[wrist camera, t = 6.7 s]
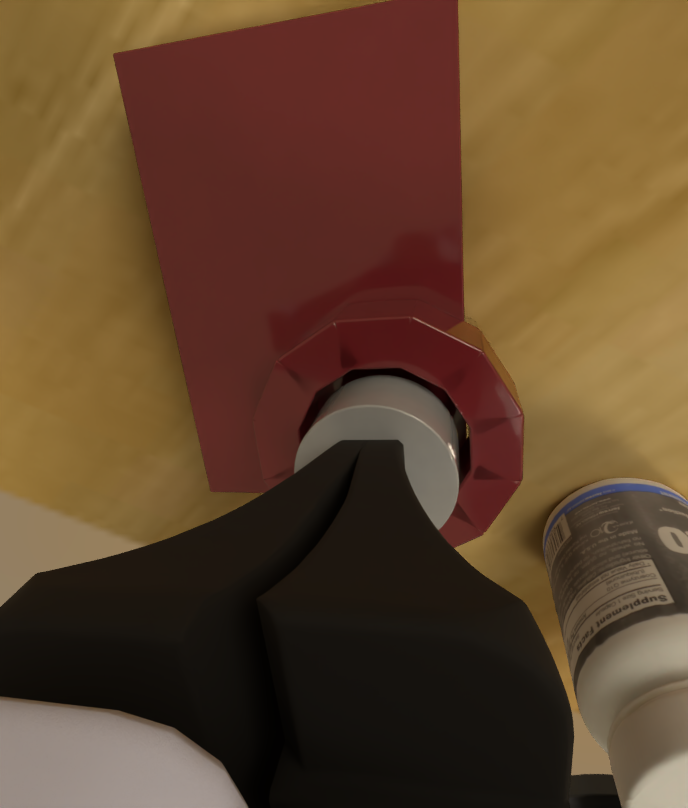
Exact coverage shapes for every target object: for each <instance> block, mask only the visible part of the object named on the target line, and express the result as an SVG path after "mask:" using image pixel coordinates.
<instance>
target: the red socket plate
mask: <svg viewBox="0 0 688 808" xmlns="http://www.w3.org/2000/svg"><path fill="white" fill-rule="evenodd" d="M113 57H114V61H115V66H116V70H117V75H118V79H119V84H120V88H121V93H122V97H123V102H124V106H125V111H126V115H127V120H128V124H129V129H130V133H131V137H132V142H133V146H134V151H135V155H136V160H137V164H138V169H139V173H140V178H141V182H142V187H143V191H144V196H145V200H146V205H147V209H148V214H149V218H150V223H151V227H152V231H153V236H154V240H155V245H156V249H157V254H158V258H159V263H160V267H161V272H162V276H163V281H164V285H165V290H166V294H167V299H168V303H169V308H170V312H171V317H172V321H173V325H174V330H175V334H176V339H177V343H178V348H179V352H180V357H181V361H182V366H183V370H184V375H185V379H186V384H187V388H188V393H189V397H190V402H191V406H192V411H193V415H194V419H195V424H196V428H197V433H198V437H199V442H200V446H201V451H202V455H203V460H204V464H205V469H206V473H207V478H208V482H209V487H210V491H211V492H246V493H265V492H267V491H268V490H270V489H272V488H273V487H275V486H276V485H278V484H279V483H281V482H282V481H284V480H285V479H287V478H289V477H290V476H292V475H293V474H294V464H295V458H296V453H297V451H298V448H299V445H300V443H301V441H302V440H303V438H304V436H305V434H306V433H307V431H308V429H309V428H310V426H311V425H312V423H313V421H314V420H315V418H316V416H317V415H318V413H319V411H320V410H321V408H322V407H323V405H324V403H325V402H326V401H327V400H328V398H329V397H330V396H331V395H332V394H333V393H334V392H335V391H336V390H338V389H339V388H341V387H342V386H343V385H345V384H347V383H349V382H351V381H353V380H356V379H359V378H363V377H367V376H374V375H391V376H397V377H402V378H405V379H409V380H411V381H413V382H416V383H418V384H420V385H422V386H423V387H425V388H427V389H428V390H429V391H431V392H432V393H433V394H435V395H436V396H437V397H438V398H439V399H440V400H441V401H442V402H443V404H444V405H445V406H446V408H447V409H448V410H449V412H450V414H451V416H452V418H453V420H454V422H455V425H456V428H457V432H458V440H459V493H458V498H457V502H456V505H455V507H454V510H453V512H452V514H451V515H450V517H449V519H448V520H447V521H446V523H445V524H444V525H443V526H442V527H441V528H440V529H439V530H438V531H439V532H440V533H441V534H442V536H443V537H444V538H445V539H446V540H447V542H448V543H449V544H450V545H451V546H452V547H453V548H455V547H457V546H459V545H461V544H464V543H466V542H468V541H470V540H473V539H475V538H477V537H480V536H482V535H483V534H484V532H486V531H487V529H488V528H489V527H490V525H491V524H492V522H493V521H494V520H495V518H496V517H497V516H498V514H499V513H500V511H501V510H502V509H503V507H504V506H505V504H506V503H507V502H508V500H509V499H510V498H511V496H512V495H513V493H514V492H515V491H516V489H517V488H518V486H519V485H520V483H521V481H522V479H523V445H524V414H523V410H522V407H521V404H520V400H519V397H518V394H517V390H516V387H515V383H514V382H513V380H512V378H511V377H510V375H509V374H508V372H507V371H506V369H505V368H504V366H503V364H502V363H501V361H500V360H499V358H498V357H497V355H496V353H495V352H494V350H493V349H492V347H491V346H490V344H489V342H488V341H487V339H486V338H485V336H484V335H483V333H482V332H481V331H480V330H479V329H478V328H476V327H474V326H472V325H470V324H468V323H466V322H464V281H463V231H462V180H461V130H460V79H459V29H458V0H391V1H385V2H380V3H375V4H370V5H364V6H359V7H354V8H349V9H344V10H338V11H333V12H328V13H323V14H317V15H312V16H307V17H302V18H297V19H291V20H286V21H281V22H276V23H270V24H265V25H260V26H255V27H249V28H244V29H239V30H234V31H229V32H223V33H218V34H213V35H208V36H202V37H197V38H192V39H187V40H181V41H176V42H171V43H166V44H161V45H155V46H150V47H145V48H140V49H134V50H129V51H124V52H119V53H114V54H113ZM466 423H467V424H468V435H469V436H468V438H467V432H466Z"/></svg>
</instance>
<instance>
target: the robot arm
mask: <svg viewBox="0 0 688 808" xmlns="http://www.w3.org/2000/svg"><path fill="white" fill-rule="evenodd" d="M573 743H574V728H573V718H572V712H571V708H570V704H569V700H568V697H567V694H566V691H565V688H564V685H563V682H562V680H561V677H560V674H559V672H558V669H557V666H556V664H555V661H554V659H553V657H552V654H551V652H550V650H549V648H548V646H547V644H546V642H545V639H544V637H543V635H542V633H541V631H540V629H539V627H538V625H537V623H536V622H535V620H534V618H533V616H532V614H531V612H530V610H529V608H528V607H527V605H526V604H525V603H524V602H523V601H522V600H521V599H520V598H518V597H516V596H515V595H513V594H512V593H510V592H509V591H507V590H506V589H504V588H502V587H501V586H499V585H498V584H496V583H495V582H493V581H492V580H490V579H488V578H487V577H485V576H484V575H483V574H481V573H480V572H479V571H478V570H476V569H475V568H474V567H473V566H471V565H470V564H469V563H468V562H467V561H466V560H465V559H464V558H463V557H462V556H461V555H460V554H459V553H458V552H457V551H456V550H455V549H454V548H453V547H452V546H451V545H450V544H449V543H448V542H447V540H446V539H445V538H444V537H443V536H442V534H441V533H440V532H439V531H438V529H437V528H436V527H435V525H434V524H433V523H432V521H431V520H430V518H429V517H428V515H427V514H426V512H425V511H424V509H423V507H422V506H421V504H420V502H419V500H418V498H417V496H416V495H415V493H414V490H413V488H412V486H411V484H410V481H409V479H408V476H407V474H406V471H405V459H404V445H403V444H402V443H401V442H400V441H399V440H341V441H339V442H338V443H336V444H335V445H333V446H332V447H330V448H329V449H327V450H326V451H325V452H323V453H322V454H321V455H319V456H318V457H317V458H315V459H314V460H313V461H311V462H310V463H308V464H307V465H306V466H304V467H303V468H301V469H300V470H299V471H297V472H296V473H295V474H293V475H292V476H290V477H289V478H287V479H285V480H284V481H282V482H281V483H279V484H278V485H276V486H275V487H273V488H272V489H270V490H268V491H267V492H265V493H264V494H262V495H261V496H259V497H257V498H256V499H254V500H252V501H250V502H248V503H247V504H245V505H243V506H241V507H239V508H237V509H235V510H233V511H231V512H229V513H227V514H225V515H223V516H221V517H219V518H217V519H215V520H213V521H210V522H208V523H205V524H203V525H200V526H198V527H195V528H193V529H191V530H188V531H186V532H183V533H181V534H178V535H176V536H173V537H171V538H168V539H165V540H162V541H159V542H156V543H153V544H150V545H147V546H144V547H141V548H138V549H134V550H131V551H128V552H124V553H121V554H118V555H114V556H110V557H107V558H103V559H99V560H94V561H90V562H85V563H82V564H77V565H72V566H69V567H64V568H59V569H55V570H51V571H46V572H40V573H37V574H35V575H34V576H33V577H32V578H31V579H30V580H29V581H28V582H26V583H25V584H24V585H23V586H22V587H21V588H20V589H19V590H18V591H17V592H16V593H15V594H14V595H13V596H12V597H11V598H9V599H8V600H7V601H6V602H5V603H4V604H3V605H2V606H1V607H0V808H570V804H569V793H570V781H571V767H572V755H573Z"/></svg>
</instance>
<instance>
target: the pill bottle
mask: <svg viewBox="0 0 688 808" xmlns="http://www.w3.org/2000/svg"><path fill="white" fill-rule="evenodd" d="M543 552H544V557H545V563H546V567H547V572H548V576H549V580H550V584H551V588H552V593H553V599H554V602H555V608H556V612H557V615H558V618H559V623H560V627H561V631H562V636H563V640H564V644H565V649H566V654H567V658H568V663H569V667H570V671H571V676H572V681H573V686H574V691H575V695H576V699H577V703H578V707H579V710H580V713H581V716H582V718H583V720H584V723H585V725H586V726H587V728H588V730H589V732H590V733H591V735H592V736H593V738H594V739H595V740H596V742H597V743H598V744H599V745H600V746H601V747H602V748H603V749H604V750H605V751H606V752H607V753H608V755H609V759H610V764H611V770H612V773H613V777H614V780H615V784H616V787H617V791H618V795H619V798H620V802H621V806H622V808H688V500H686V499H685V498H684V497H683V496H682V495H680V494H679V493H677V492H676V491H674V490H673V489H671V488H669V487H667V486H665V485H663V484H661V483H658V482H654V481H650V480H644V479H638V478H612V479H605V480H601V481H598V482H595V483H592V484H590V485H587V486H585V487H582V488H581V489H579V490H577V491H575V492H574V493H572V494H571V495H569V496H568V497H567V498H565V499H564V500H563V501H562V502H561V503H560V504H559V505H558V506H557V507H556V508H555V509H554V510H553V512H552V513H551V515H550V516H549V518H548V520H547V523H546V526H545V529H544V534H543Z"/></svg>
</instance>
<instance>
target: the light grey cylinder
mask: <svg viewBox="0 0 688 808" xmlns="http://www.w3.org/2000/svg"><path fill="white" fill-rule="evenodd" d="M341 440H399V441H400V442H401V443H402V444H403V445H404V459H405V471H406V474H407V476H408V479H409V481H410V484H411V486H412V488H413V490H414V493H415V495H416V496H417V498H418V500H419V502H420V504H421V506H422V507H423V509H424V511H425V512H426V514H427V515H428V517H429V518H430V520H431V521H432V523H433V524H434V525H435V527H436V528H437V529H438V530H439V529H440V528H441V527H442V526H443V525H444V524H445V523H446V521H447V520H448V519H449V517H450V515H451V514H452V512H453V510H454V507H455V505H456V502H457V498H458V493H459V440H458V432H457V428H456V425H455V422H454V420H453V418H452V416H451V414H450V412H449V410H448V409H447V408H446V406H445V405H444V404H443V402H442V401H441V400H440V399H439V398H438V397H437V396H436V395H435V394H433V393H432V392H431V391H429V390H428V389H427V388H425V387H423V386H422V385H420V384H418V383H416V382H413V381H411V380H409V379H405V378H402V377H397V376H391V375H374V376H367V377H363V378H359V379H356V380H353V381H351V382H349V383H347V384H345V385H343V386H342V387H341V388H339V389H338V390H336V391H335V392H334V393H333V394H332V395H331V396H330V397H329V398H328V400H327V401H326V402H325V403H324V405H323V407H322V408H321V410H320V411H319V413H318V415H317V416H316V418H315V420H314V421H313V423H312V425H311V426H310V428H309V429H308V431H307V433H306V434H305V436H304V438H303V440H302V441H301V443H300V445H299V448H298V451H297V453H296V458H295V464H294V474H295V473H296V472H297V471H299V470H300V469H301V468H303V467H304V466H306V465H307V464H308V463H310V462H311V461H313V460H314V459H315V458H317V457H318V456H319V455H321V454H322V453H323V452H325V451H326V450H327V449H329V448H330V447H332V446H333V445H335V444H336V443H338V442H339V441H341Z"/></svg>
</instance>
